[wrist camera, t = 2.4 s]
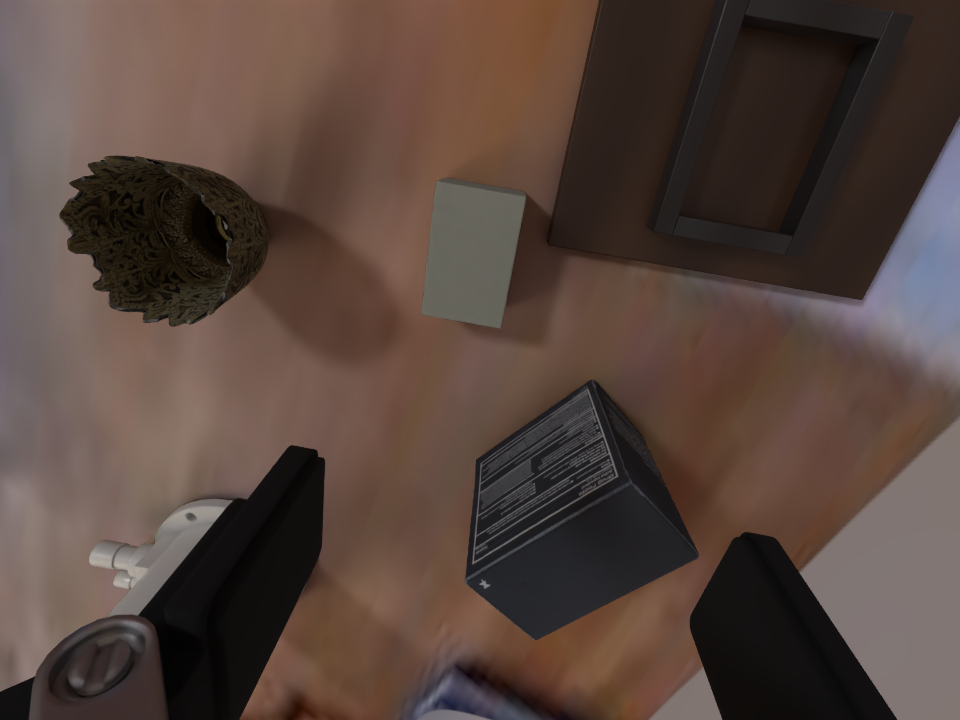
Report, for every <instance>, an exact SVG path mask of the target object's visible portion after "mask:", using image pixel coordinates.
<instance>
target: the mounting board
mask: <svg viewBox="0 0 960 720" xmlns="http://www.w3.org/2000/svg"><path fill="white" fill-rule="evenodd" d="M959 117H960V0H599V3H598V8H597V13H596V17H595V22H594V26H593V31H592V36H591V40H590V45H589V49H588V54H587V58H586V63H585V68H584V72H583V77H582V81H581V86H580V91H579V95H578V100H577V104H576V109H575V113H574V118H573V123H572V127H571V132H570V136H569V141H568V146H567V150H566V155H565V159H564V164H563V168H562V173H561V178H560V182H559V187H558V191H557V196H556V201H555V205H554V210H553V214H552V219H551V224H550V228H549V233H548V237H547V243H548V245H552V246H557V247H563V248H569V249H574V250H580V251H586V252H591V253H597V254H603V255H608V256H614V257H620V258H625V259H631V260H637V261H642V262H648V263H654V264H659V265H665V266H671V267H676V268H682V269H688V270H693V271H699V272H705V273H710V274H716V275H722V276H727V277H733V278H739V279H744V280H750V281H756V282H761V283H767V284H773V285H778V286H784V287H790V288H795V289H801V290H807V291H812V292H818V293H824V294H829V295H835V296H841V297H846V298H852V299H858V300H862V299H863V298H864V296H865V294H866V292H867V290H868V288H869V286H870V284H871V283H872V281H873V279H874V277H875V275H876V273H877V271H878V269H879V267H880V266H881V264H882V262H883V260H884V258H885V256H886V254H887V252H888V251H889V249H890V247H891V245H892V243H893V241H894V239H895V237H896V235H897V234H898V232H899V230H900V228H901V226H902V224H903V222H904V220H905V218H906V217H907V215H908V213H909V211H910V209H911V207H912V205H913V203H914V202H915V200H916V198H917V196H918V194H919V192H920V190H921V188H922V186H923V185H924V183H925V181H926V179H927V177H928V175H929V173H930V171H931V169H932V168H933V166H934V164H935V162H936V160H937V158H938V156H939V154H940V152H941V151H942V149H943V147H944V145H945V143H946V141H947V139H948V137H949V136H950V134H951V132H952V130H953V128H954V126H955V124H956V122H957V120H958V119H959Z"/></svg>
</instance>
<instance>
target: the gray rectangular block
mask: <svg viewBox="0 0 960 720" xmlns="http://www.w3.org/2000/svg"><path fill="white" fill-rule="evenodd" d="M525 203H526V194H525V192H524V191H519V190H513V189H508V188H502V187H496V186H491V185H485V184H479V183H474V182H468V181H462V180H457V179H451V178H444V179H441V180H438V181H436V187H435V196H434V205H433V213H432V222H431V231H430V240H429V249H428V258H427V267H426V276H425V285H424V293H423V302H422V311H421V314H422V315H426V316H432V317H437V318H443V319H449V320H454V321H460V322H466V323H471V324H477V325H483V326H488V327H494V328H502V322H503V317H504V312H505V307H506V302H507V296H508V291H509V286H510V281H511V276H512V270H513V265H514V260H515V255H516V250H517V244H518V239H519V234H520V229H521V224H522V218H523V213H524V208H525Z"/></svg>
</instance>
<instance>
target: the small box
mask: <svg viewBox="0 0 960 720" xmlns="http://www.w3.org/2000/svg"><path fill="white" fill-rule="evenodd" d="M698 557H699V553H698V551H697V549H696V547H695V545H694V543H693V541H692V539H691V537H690V535H689V533H688V531H687V529H686V527H685V525H684V523H683V521H682V519H681V516H680V514H679V512H678V510H677V508H676V506H675V503H674V502H673V500H672V498H671V495H670V493H669V491H668V489H667V487H666V485H665V483H664V481H663V479H662V476H661V474H660V472H659V470H658V468H657V466H656V463H655V461H654V459H653V457H652V455H651V453H650V451H649V449H648V447H647V445H646V442H645V440H644V437H643V436H642V435H641V434H640V433H639V431H638V430H637V429H636V428H635V427H634V425H633V424H632V423H631V422H630V421H629V419H628V418H627V417H626V416H625V415H624V414H623V413H622V411H621V410H620V409H619V408H618V407H617V406H616V404H615V403H614V402H613V401H612V400H611V399H610V398H609V396H608V395H607V394H606V393H605V392H604V390H603V389H602V388H601V387H600V386H599V385H598V383H597V382H596V381H594V380H590V381H589V382H587V383H586V384H585V385H583V386H582V387H580V388H579V389H577V390H576V391H574V392H573V393H571V394H570V395H569V396H567V397H566V398H564V399H563V400H561V401H560V402H558V403H557V404H556V405H554V406H553V407H551V408H550V409H548V410H547V411H545V412H544V413H543V414H541V415H540V416H538V417H537V418H535V419H534V420H533V421H531V422H530V423H528V424H527V425H525V426H524V427H523V428H521V429H520V430H518V431H517V432H515V433H514V434H513V435H511V436H510V437H508V438H507V439H505V440H504V441H502V442H501V443H499V444H498V445H497V446H495V447H494V448H492V449H491V450H490V451H488V452H487V453H485V454H484V455H483V456H481V457H480V458H478V459H477V460H476V473H475V488H474V498H473V508H472V516H471V525H470V537H469V547H468V558H467V568H466V574H465V584H466V585H468V586H469V587H470V588H472V589H473V590H474V591H475V592H476V593H478V594H479V595H480V596H481V597H483V598H484V599H485V600H486V601H487V602H489V603H490V604H491V605H492V606H494V607H495V608H496V609H497V610H498V611H500V612H501V613H502V614H503V615H504V616H506V617H507V618H508V619H509V620H511V621H512V622H513V623H514V624H515V625H517V626H518V627H519V628H520V629H521V630H523V631H524V632H525V633H526V634H528V635H529V636H530V637H531V638H533V639H534V640H538V639H540V638H542V637H544V636H546V635H547V634H550V633H552V632H553V631H555V630H557V629H559V628H561V627H563V626H565V625H567V624H569V623H571V622H573V621H575V620H577V619H579V618H581V617H583V616H585V615H587V614H589V613H590V612H592V611H594V610H596V609H598V608H600V607H602V606H604V605H606V604H608V603H610V602H612V601H614V600H616V599H618V598H620V597H622V596H624V595H626V594H628V593H630V592H632V591H634V590H636V589H638V588H640V587H642V586H644V585H646V584H648V583H650V582H652V581H653V580H655V579H657V578H659V577H661V576H663V575H665V574H667V573H669V572H671V571H673V570H675V569H677V568H679V567H681V566H683V565H685V564H687V563H689V562H691V561H693V560H695V559H697V558H698Z"/></svg>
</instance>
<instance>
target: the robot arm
mask: <svg viewBox="0 0 960 720" xmlns="http://www.w3.org/2000/svg"><path fill="white" fill-rule="evenodd" d="M324 476H325V460H324V458H321V457H318V452H317V450H314V449H309V448H304V447H299V446H293V445H291V446H289V447H288V448H287V449H286V451H285V452H284V453H283V454H282V456H281V457H280V458H279V460H278V461H277V462H276V463H275V465H274V466H273V467H272V469H271V470H270V471H269V472H268V474H267V475H266V476H265V478H264V479H263V480H262V481H261V483H260V484H259V485H258V487H257V488H256V489H255V490H254V492H253V493H252V494H251V496H250V497H249V498H248V499H247V500H245V499H239V498H238V499H236V500H234V501H232V500H224V499H202V500H198V501H194V502H190V503H188V504H185V505H183V506H181V507H179V508H178V509H177V510H175V511H174V512H173V513H172V514H171V515H170V516H169V517H168V518H167V519H166V520H165V521H164V523H163V524H162V525H161V526H160V528H159V530H158V532H157V534H156V540H155V544H152V543H144V544H142V545H141V546H139V547H138V546H132V545H130V544H127V543H121V542H116V541H110V540H103V541H100V542H99V543H98V544H97V545H96V546H95V547H94V549H93V550H92V552H91V555H90V558H89V561H90V564H91V565H92V566H97V567H103V568H108V569H114V570H115V569H121V570H120V571H119V572H118V573H117V575H116V576H115V579H114V584H113V585H114V586H115V587H119V588H125V589H131V590H130V591H129V592H128V593H127V594H126V595H125V596H124V597H123V599H122V600H121V601H120V602H119V603H118V604H117V605H116V607H115V608H114V609H113V610H112V611H111V612H110V613H109V614H108V616H107V617H106V618H102V619H99V620H96V621H94V622H92V623H90V624H88V625H85V626H83V627H81V628H79V629H78V630H77V631H75V632H74V633H72V634H71V635H69V636H68V637H66V638H65V639H63V640H62V641H61V642H60V643H59V644H58V645H57V646H56V647H55V648H54V649H53V650H52V651H51V652H50V653H49V654H48V655H47V656H46V658H45V659H44V661H43V662H42V664H41V665H40V667H39V668H38V670H37V673H36V676H35V677H33V678H30V679H28V680H26V681H24V682H21V683H19V684H17V685H15V686H12V687H10V688H8V689H5V690H3V691H1V692H0V720H239V719H240V717H241V715H242V713H243V711H244V709H245V707H246V705H247V703H248V701H249V699H250V697H251V695H252V693H253V691H254V689H255V687H256V685H257V682H258V680H259V678H260V676H261V674H262V672H263V670H264V668H265V666H266V664H267V662H268V660H269V658H270V656H271V654H272V652H273V650H274V648H275V646H276V644H277V642H278V640H279V638H280V636H281V634H282V632H283V630H284V628H285V625H286V623H287V621H288V619H289V617H290V615H291V613H292V611H293V609H294V607H295V605H296V603H297V601H298V599H299V597H300V596H301V594H302V592H303V590H304V588H305V586H306V583H307V581H308V579H309V577H310V575H311V573H312V570H313V568H314V566H315V564H316V562H317V560H318V558H319V555H320V551H321V547H322V529H323V502H324ZM690 630H691V633H692V636H693V639H694V642H695V645H696V647H697V650H698V653H699V656H700V658H701V661H702V664H703V667H704V670H705V672H706V675H707V678H708V681H709V683H710V686H711V689H712V692H713V694H714V697H715V700H716V703H717V706H718V708H719V711H720V714H721V717H722V720H897V719H896V717H895V716H894V714H893V713H892V711H891V710H890V708H889V707H888V705H887V704H886V702H885V701H884V699H883V698H882V696H881V695H880V693H879V692H878V690H877V689H876V687H875V686H874V684H873V683H872V681H871V680H870V678H869V677H868V675H867V674H866V672H865V671H864V669H863V668H862V666H861V665H860V663H859V662H858V660H857V659H856V657H855V656H854V654H853V653H852V651H851V650H850V648H849V647H848V645H847V644H846V642H845V641H844V639H843V638H842V636H841V635H840V633H839V632H838V630H837V629H836V627H835V626H834V624H833V623H832V621H831V620H830V618H829V617H828V615H827V614H826V612H825V611H824V609H823V608H822V606H821V605H820V603H819V602H818V601H817V599H816V597H815V596H814V594H813V593H812V591H811V590H810V588H809V587H808V585H807V584H806V582H805V581H804V579H803V578H802V576H801V575H800V573H799V572H798V570H797V569H796V567H795V566H794V564H793V563H792V561H791V560H790V558H789V557H788V555H787V554H786V552H785V551H784V549H783V548H782V546H781V545H780V543H779V542H778V541H777V540H776V539H775V538H773V537H770V536H765V535H760V534H755V533H749V532H745V533H743V534H741V536H740V537H736V538H734V539H733V540H732V542H731V544H730V545H729V547H728V549H727V551H726V553H725V554H724V556H723V558H722V560H721V562H720V563H719V565H718V567H717V569H716V571H715V572H714V574H713V576H712V578H711V580H710V581H709V583H708V585H707V587H706V588H705V590H704V592H703V594H702V596H701V597H700V599H699V601H698V603H697V605H696V606H695V608H694V610H693V612H692V614H691V616H690Z"/></svg>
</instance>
